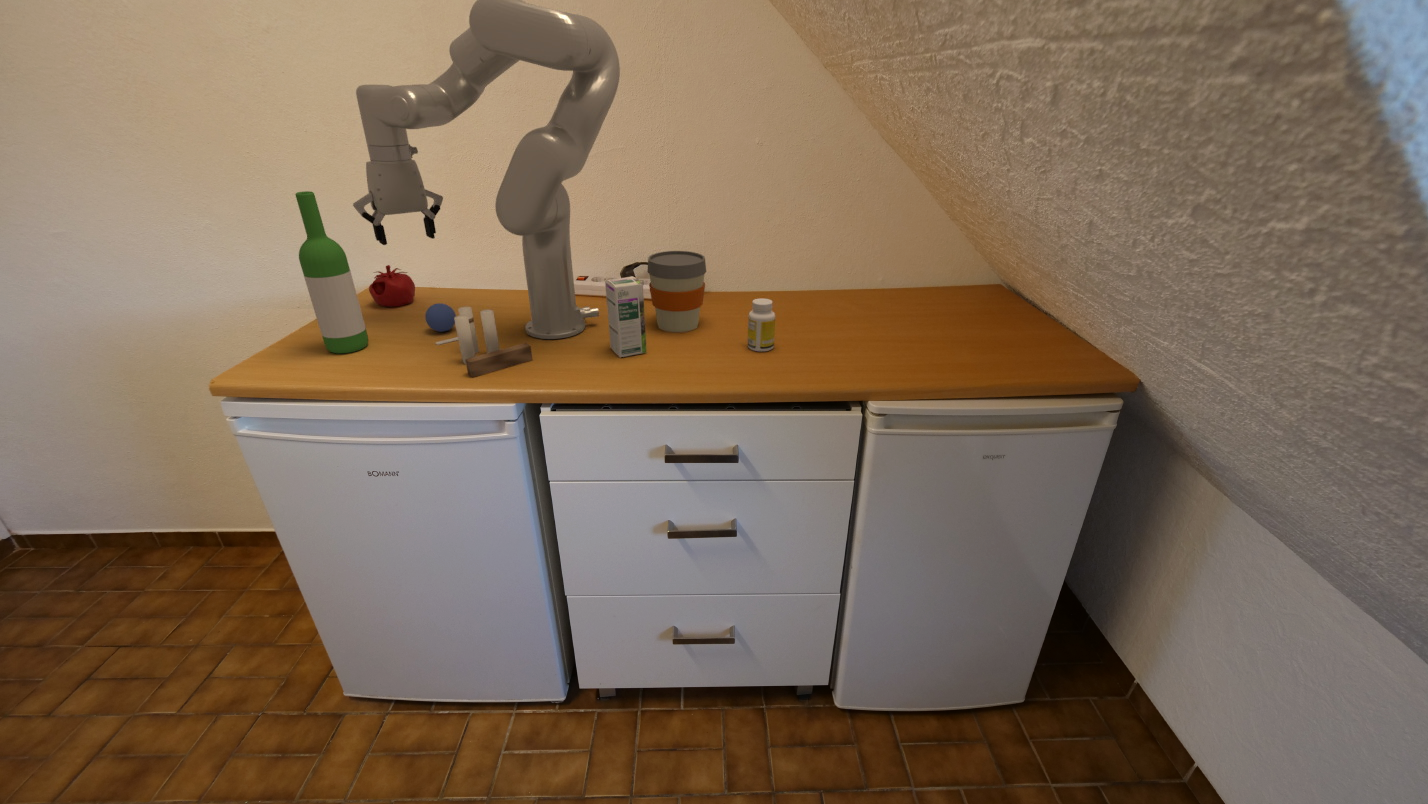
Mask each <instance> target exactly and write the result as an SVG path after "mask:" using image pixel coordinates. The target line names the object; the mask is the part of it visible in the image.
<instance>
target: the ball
mask: <svg viewBox="0 0 1428 804" xmlns="http://www.w3.org/2000/svg"><path fill="white" fill-rule="evenodd" d="M427 308H428V309H427V310H426V312H425V315H424V317H425V323H426V324H427V326H428V327H429V328H430V329H432V330H434V331H435V332H439V333H443V332H448V331H450V330H452V329H453V328H454V326H455V320H454V318H455V317H456V316H457V315H456V313H455V310H454V309H453V308H452V307H451V306H449V305H448V304H446V303H440V302H439V303H438V302H437V303H434V304H432V305H430V306H429V307H427Z"/></svg>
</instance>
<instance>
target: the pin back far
mask: <svg viewBox="0 0 1428 804" xmlns="http://www.w3.org/2000/svg"><path fill="white" fill-rule="evenodd" d="M454 320H455V324H454V326H455V330H456V335H457V337H458V340H457V341H458V345H459V350H460V354H461V359H462V360H461V361H462V364H463V365H466V361H465V359H468V358H472V357H475V356H476V353H475V352H474V347H473V342H472V336H471V331H470V325H469V320H468V316H466V315H460V316H459V315H456V317H455V318H454Z"/></svg>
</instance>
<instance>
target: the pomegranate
mask: <svg viewBox="0 0 1428 804" xmlns="http://www.w3.org/2000/svg"><path fill="white" fill-rule="evenodd" d="M385 270H386V272H383V271H379V270H378V271H375V272H373V273H379V274H376V275H375V276H374V277H373V279H374V280H373V282H372V283H371V284H370V285H369V287H368V291H369V294H370V296H371V298H372V299H373V301H374V302H375V303H376V304H378V305H379V306H382V307H387V308H388V307H389V308H391V307H392V308H395V307H398V306H399V307H402V306H405V305H406V306H407V305H408V304H410V303H413V301H414V298H415V296H416V293H415V292H416V285H415V282H414V280H413V279H412V277H410V276H409V275H408V274H407V273H409V272H408V271H407V272H406V271H401V270H403V269H402V268H398V267H396V268H394V269H393V270H392V271H391V265H390V264H387V265H385ZM398 270H399V272H396V271H398Z"/></svg>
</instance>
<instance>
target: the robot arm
mask: <svg viewBox="0 0 1428 804" xmlns="http://www.w3.org/2000/svg"><path fill="white" fill-rule="evenodd" d="M469 12H470V13H469V17H468V18H469V19H468V23H469V27H468V28H467V29H466V30H465V31H463V33H460V35H459V36H457V37H456V38H455V39H454V40H452V42H451V43H450V45H449V47H448V48H449V49H448V51H449V55H450V58H451V61H452V63H451V65H450V66H449V67H448V68H447V69H446V70H445V71H444V72H443V73H441V75H440V76H438V77H437V78H436V79H434V80H433V81H432V82H430V83H427V84H421V83H420V84H403V85H402V84H401V85H394V86H393V85H390V84H389V85H388V84H361V85H359V86H357V88H356V91H355V96H356V101H357V106H358V109H359V115H360V118H361V123H362V128H363V133H364V136H365V137H364V138H365V143H366V147H367V151H368V155H369V160H370V161H366V162H365V173H366V184H367V189H368V190H367V191H368V193H366V195H364V196H362V197H361V198H359V199H357V200H356V201H355V202H353V203H352V207H353V208H354V210H356V211H357V213H358V214H359V215H360V216H361V217H362V218H363V219H365V220H366V221H367V222H369V223H371V224H372V229H373V231H374V237H375V239H376V241H378V242H379V243H380V244H381V245H383V246H386V245H388V242H387V236H386V232H385V227H384V225H383V224H382V221H383V220H384V218H385V216H390V215H391V216H392V215H401V214H402V215H403V214H409V213H417V212H418V213H419V212H421V213H422V215H424V217H423V220H422V221H423V225H424V230H425V235H426V237H428V238H429V239H431V240H432V239H435V237H436V235H435V234H436V233H437V230H436V226H435V219H436V216H437V215H438V213H439V212H440V210H441V206H442V203H443V201H444V196H442V195H440V194H438V193H435V192H433V191H431V190H428V189H425V184H424V181H423V178H422V176H421V172H420V170H419V167H418V163H417V161H416V160H414V159H413V155H417V154H418V153H419V150H418V147H416V146H412V145H411V144H410V141H409V137H408V132H407V130H420V129H425V128H426V129H427V128H433V127H442V126H444V125H447V124H449V123H450V122H453V121H454V120H455V119H457V118H458V117H459V116H460V115H462V114H463V113H464V112H466V111H468V109H470V108H471V107H472V106H474V104H475V103H476V102H477V101H478V100H479V98H480V97H481V95H483V93H484V91H485V89H486V88H487V86H488V85H490V84H491V83H492V82H494V81H495V80H497V79H498V77H500V76H501V75H503V74H504V73H506V72H507V71H508V70H509V69H510V68H512V67H513V66H514V65H516V64H517V63H518V62H519V61H522V62H525V63H529V64H533V65H536V66H541V67H543V68H548V69H551V70H557V71H563V72H564V71H565V72H567V71H569V72H570V71H571V72H572V73H571V78H570V80H569V81H568V83H567V85H566V86H565V88H564V89H563V91H562V92H561V95H560V97H559V99H558V102H557V105H556V107H555V109H554V112H553V114H552V116H551V117H550V119H549V121H548V122H547V125H545V126H541V127H537V128H535V129H532V130H530V131H528V132H527V133H526V134H525V135H524V136H523V137H522V138H521V139H520V140H519V143H517V145H516V147H515V149H514V152H513V154H512V157H511V159H510V161H509V164H508V167H507V170H506V171H505V174H504V176H503V179H502V181H501V184H500V186H499V188H498V192H497V195H496V197H495V206H494V207H495V214H496V217H497V219H498V222H499V223H500V225H501V226H502V227H503V228H504V229H505V230H506V231H507V232H509V233H511V234H512V235H515V236H519V237H522V238H521V239H522V240H521V242H522V254H523V262H524V263H523V264H524V270H525V279H526V285H527V292H528V300H529V308H530V316H531V320H529V321H528V322H527V323H525V325H524V326H525V327H524V328H525V332H526V334H527V335H529V336H531V337H533V338H537V339H541V340H559V339H565V338H571V337H573V336H576V335H579V334H580V333H582V332H583V331H584V330H585V328H586V321H585V320H586V319H588V318H598V317H600V311H599V308H598V307H592V308H590V306H582V307H579V306H578V305H577V302H576V294H575V293H576V291H575V283H574V282H575V281H574V273H573V271H574V269H573V262H572V261H573V260H572V250H571V249H572V248H571V234H570V232H571V231H570V228H571V227H570V224H571V201H570V196H569V193H568V192H567V191H568V190H567V189H566V188H565V186H564V185H563V182H564V181H566V180H570V179H571V178H573V177H575V176H578V174H579V173H581V171H582V170H583V169H584V168H585V165H586V162H587V159H588V157H589V154H590V153H591V152H592V151H591V150H592V149H593V147H594V144H595V142H596V140H597V137H598V136H599V133H600V131H601V130H602V129H601V128H602V127H603V124H604V122H605V119H606V118H607V115H608V113H609V111H610V109H611V107H612V105H613V102H614V99H615V97H616V94H617V90H618V87H619V83H620V75H621V68H620V59H619V55H618V52H617V49H616V47H615V44H614V42H613V40H612V38H611V36H610V35H609V33H608V32H607V31H606V29H605V28H604V27H603V26H602V25H601V24H599V23H598V22H597V21H595V20H594V19H592V18H589V17H588V16H586V15H580V14H575V13H570V12H567V11H561V10H558V9H553V8H548V7H546V6H545V7H544V6H541V5H536V4H533V3H529V2H525V1H523V0H476V1H475V2H474V3H473V5H472V7H471V9H470V11H469ZM428 198H430V199H433V201H432V202H433V204H432V205H431V206H430V207H429V208H428V206H429V204H428ZM368 204H370V206H371V209H372V210H373V213H372V214H370V213H368V211H367V210H366V209H365V207H366V206H367V205H368Z"/></svg>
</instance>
